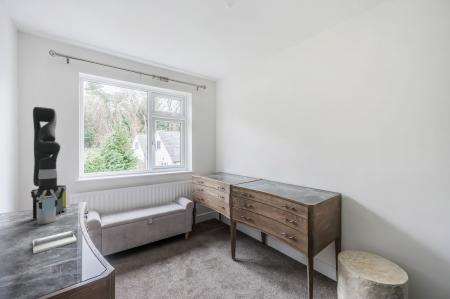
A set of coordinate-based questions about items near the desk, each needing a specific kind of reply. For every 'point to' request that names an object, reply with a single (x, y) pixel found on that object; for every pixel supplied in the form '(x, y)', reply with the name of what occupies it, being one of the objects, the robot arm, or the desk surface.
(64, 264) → the desk surface
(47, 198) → the block
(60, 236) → the rail plate
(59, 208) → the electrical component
